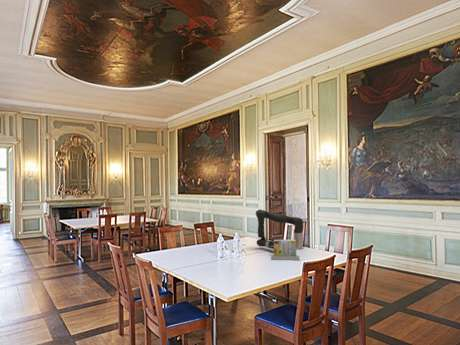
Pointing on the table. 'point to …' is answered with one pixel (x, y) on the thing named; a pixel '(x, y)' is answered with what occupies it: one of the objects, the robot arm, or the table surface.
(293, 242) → the snack box
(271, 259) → the mat
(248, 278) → the table surface
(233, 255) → the table surface
